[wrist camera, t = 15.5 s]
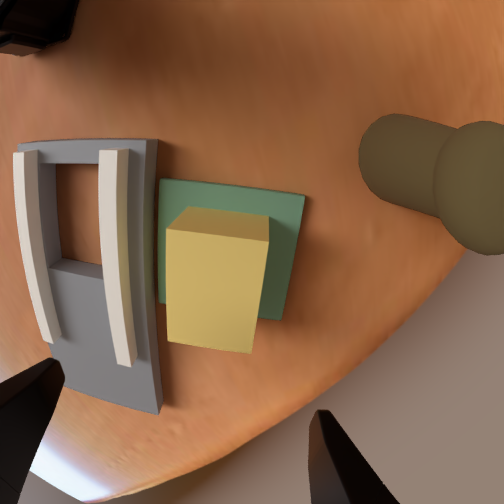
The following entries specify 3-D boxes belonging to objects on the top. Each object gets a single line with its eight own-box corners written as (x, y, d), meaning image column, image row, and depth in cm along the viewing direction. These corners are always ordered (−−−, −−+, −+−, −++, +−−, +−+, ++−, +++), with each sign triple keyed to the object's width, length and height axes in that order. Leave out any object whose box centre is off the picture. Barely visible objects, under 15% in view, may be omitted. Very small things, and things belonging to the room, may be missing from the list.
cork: (341, 135, 17) (433, 146, 7) (417, 100, 15) (540, 93, 5) (380, 219, 19) (472, 307, 9) (448, 182, 17) (562, 235, 7)
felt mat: (162, 177, 18) (159, 179, 18) (303, 194, 18) (305, 196, 18) (161, 298, 22) (158, 302, 21) (280, 315, 22) (281, 320, 21)
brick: (188, 206, 18) (166, 228, 14) (268, 216, 18) (269, 241, 14) (185, 301, 21) (167, 340, 17) (254, 311, 21) (251, 353, 17)
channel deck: (34, 141, 17) (4, 146, 14) (158, 139, 17) (135, 141, 14) (71, 374, 27) (58, 395, 23) (163, 400, 27) (154, 426, 23)
